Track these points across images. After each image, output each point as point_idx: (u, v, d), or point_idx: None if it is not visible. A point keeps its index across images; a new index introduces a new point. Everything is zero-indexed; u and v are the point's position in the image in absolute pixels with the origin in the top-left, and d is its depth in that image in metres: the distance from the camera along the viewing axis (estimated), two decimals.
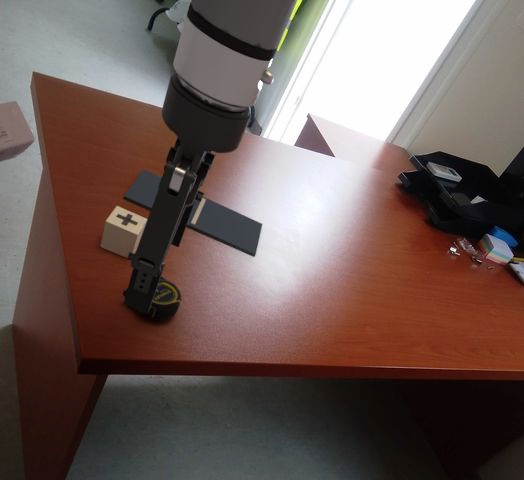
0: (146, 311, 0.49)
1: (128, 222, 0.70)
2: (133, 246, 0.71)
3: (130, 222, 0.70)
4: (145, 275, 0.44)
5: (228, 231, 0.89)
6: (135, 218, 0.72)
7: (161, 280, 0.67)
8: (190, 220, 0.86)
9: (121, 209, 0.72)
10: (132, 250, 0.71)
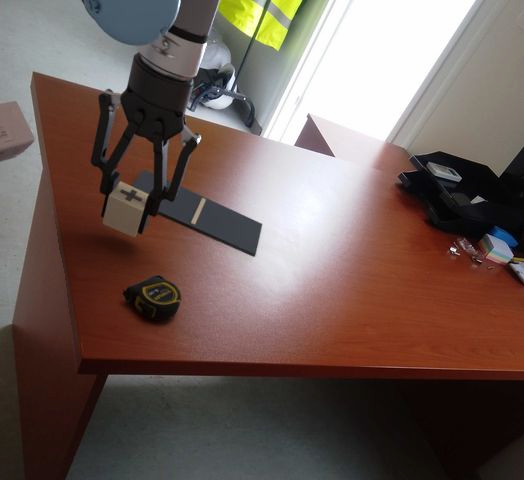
0: None
1: (132, 197, 0.67)
2: (137, 223, 0.68)
3: (135, 198, 0.67)
4: None
5: (228, 231, 0.89)
6: (139, 194, 0.69)
7: (161, 280, 0.67)
8: (190, 220, 0.86)
9: (125, 185, 0.69)
10: (136, 227, 0.68)
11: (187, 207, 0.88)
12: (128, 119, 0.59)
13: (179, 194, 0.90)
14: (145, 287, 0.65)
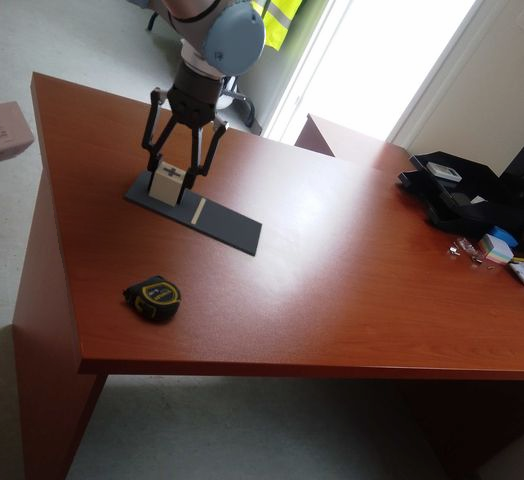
0: None
1: (173, 173, 0.84)
2: (177, 194, 0.84)
3: (175, 174, 0.84)
4: None
5: (228, 231, 0.89)
6: (177, 171, 0.85)
7: (161, 280, 0.67)
8: (190, 220, 0.86)
9: (166, 164, 0.85)
10: (175, 198, 0.85)
11: (187, 207, 0.88)
12: (172, 110, 0.76)
13: None
14: (145, 287, 0.65)
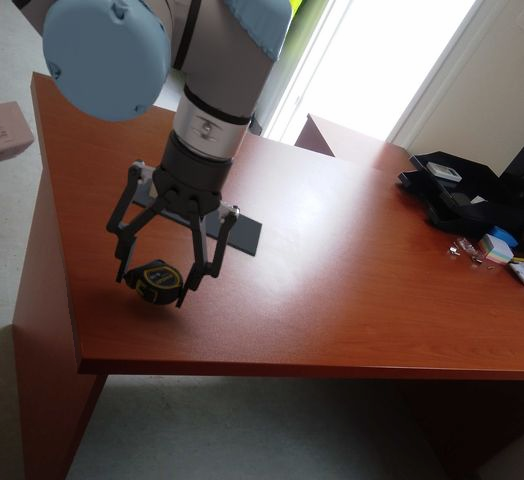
0: (116, 279, 0.63)
1: None
2: None
3: None
4: None
5: None
6: None
7: (163, 264, 0.65)
8: None
9: None
10: None
11: None
12: (160, 196, 0.54)
13: None
14: (146, 270, 0.63)
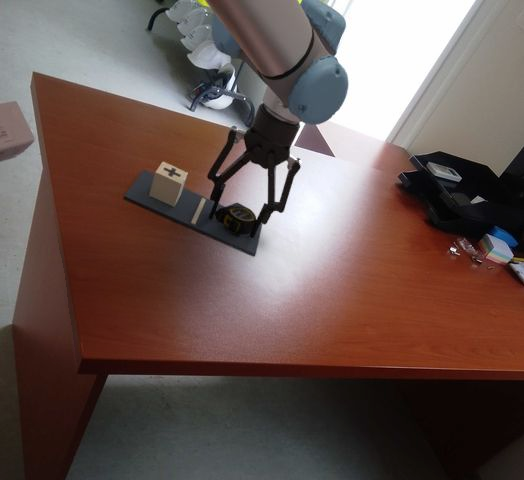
0: (209, 216, 0.88)
1: (173, 173, 0.84)
2: (177, 194, 0.84)
3: (175, 174, 0.84)
4: (214, 187, 0.85)
5: (228, 231, 0.89)
6: (178, 171, 0.85)
7: (241, 206, 0.90)
8: (190, 220, 0.86)
9: (166, 164, 0.85)
10: (176, 198, 0.85)
11: (187, 207, 0.88)
12: (248, 151, 0.79)
13: None
14: (231, 209, 0.87)
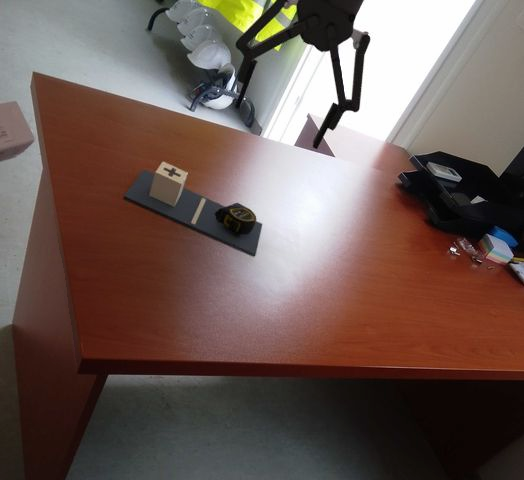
0: (235, 105, 0.70)
1: (173, 173, 0.84)
2: (177, 194, 0.84)
3: (175, 174, 0.84)
4: None
5: (228, 231, 0.89)
6: (178, 171, 0.85)
7: (241, 206, 0.90)
8: (190, 220, 0.86)
9: (166, 164, 0.85)
10: (176, 198, 0.85)
11: (187, 207, 0.88)
12: None
13: None
14: (231, 209, 0.87)
